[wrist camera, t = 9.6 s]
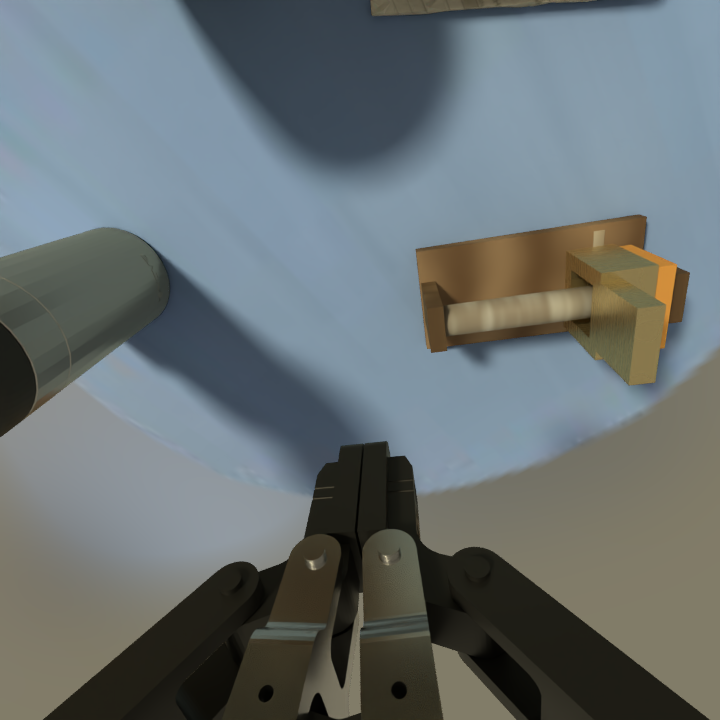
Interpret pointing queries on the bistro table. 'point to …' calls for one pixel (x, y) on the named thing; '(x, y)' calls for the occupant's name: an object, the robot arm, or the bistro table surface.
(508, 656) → the robot arm
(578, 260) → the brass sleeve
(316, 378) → the bistro table surface
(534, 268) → the pipe board
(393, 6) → the packaged product
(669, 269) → the orange upright board
